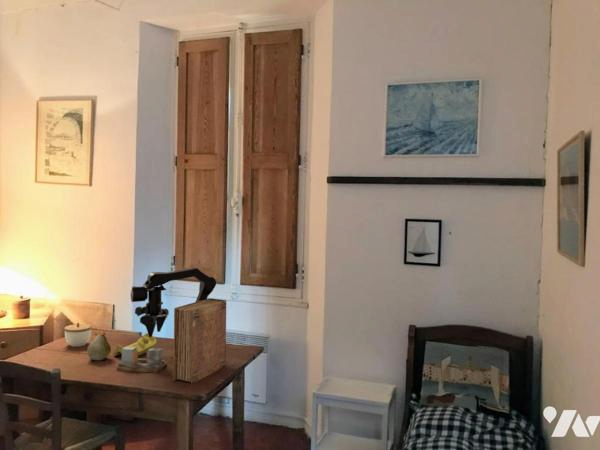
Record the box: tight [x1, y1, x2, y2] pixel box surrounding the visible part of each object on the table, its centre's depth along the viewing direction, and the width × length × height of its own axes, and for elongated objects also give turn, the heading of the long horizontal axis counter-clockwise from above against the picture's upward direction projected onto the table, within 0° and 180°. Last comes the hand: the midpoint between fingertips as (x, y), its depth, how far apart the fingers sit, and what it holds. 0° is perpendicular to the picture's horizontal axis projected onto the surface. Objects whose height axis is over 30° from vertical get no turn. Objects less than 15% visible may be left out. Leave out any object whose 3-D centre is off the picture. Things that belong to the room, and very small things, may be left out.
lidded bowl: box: [64, 322, 92, 348], centre depth 265 cm, size 13×13×11 cm
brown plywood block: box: [172, 297, 227, 384], centre depth 226 cm, size 25×9×30 cm, turn 156°
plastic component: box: [113, 332, 157, 357], centre depth 254 cm, size 20×7×10 cm
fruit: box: [86, 331, 112, 361], centre depth 242 cm, size 10×9×12 cm
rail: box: [116, 347, 167, 374], centre depth 232 cm, size 18×11×8 cm, turn 82°
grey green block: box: [121, 346, 139, 364], centre depth 233 cm, size 6×4×7 cm
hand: (154, 334), depth 240 cm, fingers open, 9 cm apart
